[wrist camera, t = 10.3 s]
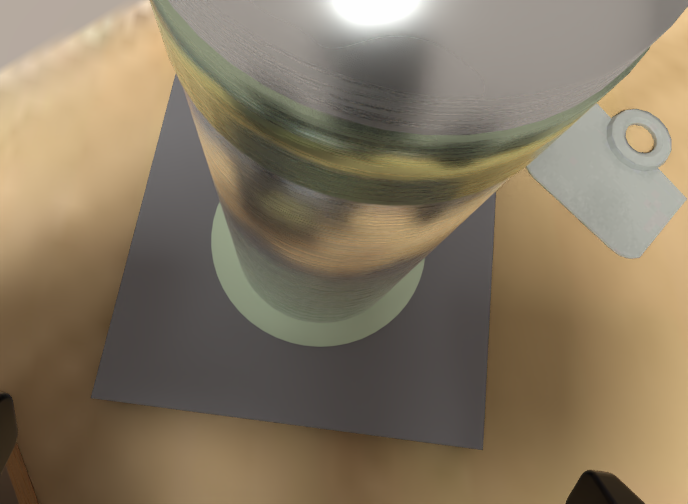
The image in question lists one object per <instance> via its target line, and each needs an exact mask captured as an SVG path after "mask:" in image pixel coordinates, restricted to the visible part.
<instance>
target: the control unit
mask: <svg viewBox="0 0 688 504" xmlns="http://www.w3.org/2000/svg"><path fill="white" fill-rule="evenodd" d="M0 504H39V503H38V501H37V498H36V495H35V492H34V489H33V487H32V484H31V481H30V478H29V476H28V473H27V470H26V467H25V465H24V462H23V459H22V456H21V453H20V451H19V448H18V445H17V442H16V444H15V447H14V449H13V451H12V453H11V455H10V457H9V459H8V461H7V463H6V465H5V467H4V469H3V471H2V473H1V475H0Z"/></svg>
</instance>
